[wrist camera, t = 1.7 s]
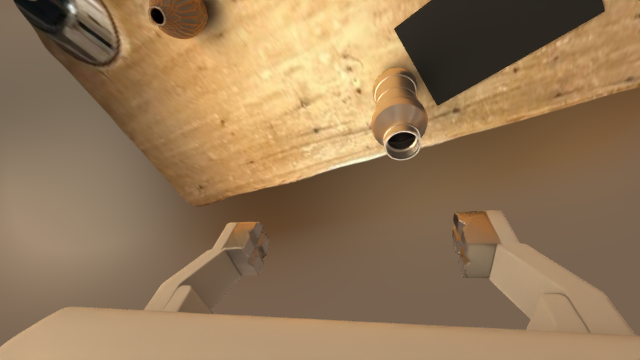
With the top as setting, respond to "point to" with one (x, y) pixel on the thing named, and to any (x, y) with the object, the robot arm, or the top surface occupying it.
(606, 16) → the top surface
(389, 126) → the plastic bottle
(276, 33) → the top surface
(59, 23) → the top surface
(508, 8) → the mat
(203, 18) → the vase
